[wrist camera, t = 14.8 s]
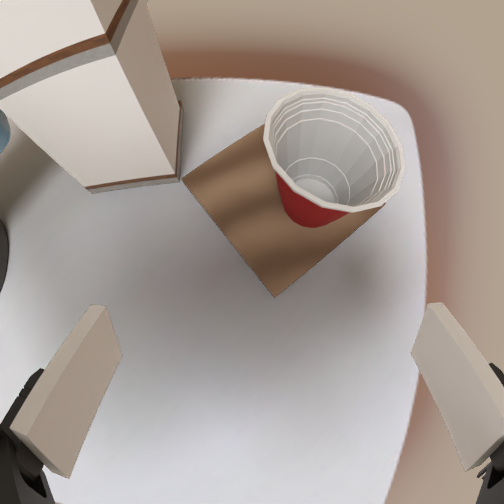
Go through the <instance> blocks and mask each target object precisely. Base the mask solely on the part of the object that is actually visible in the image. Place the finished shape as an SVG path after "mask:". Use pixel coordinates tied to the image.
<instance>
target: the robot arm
mask: <svg viewBox="0 0 504 504" xmlns="http://www.w3.org/2000/svg"><path fill="white" fill-rule="evenodd" d="M9 139H10V126H9V123H8V120H7V117H6V115H5V113H4V112H3V111H2V110H1V109H0V154H1V152H2V151H3V150H4V149H5V147H6V146H7V144H8V142H9ZM7 259H8V242H7V235H6V231H5V228H4V225H3V223H2V222H1V220H0V290H1V287H2V284H3V281H4V277H5V273H6V268H7ZM411 355H412V357H413V359H414V361H415V362H416V364H417V366H418V368H419V370H420V372H421V374H422V376H423V378H424V380H425V382H426V384H427V386H428V388H429V390H430V392H431V394H432V396H433V398H434V401H435V403H436V405H437V407H438V409H439V411H440V413H441V415H442V418H443V420H444V422H445V424H446V427H447V429H448V431H449V434H450V436H451V438H452V441H453V443H454V445H455V448H456V450H457V452H458V455H459V458H460V460H461V462H462V465H463V468H464V470H465V472H466V471H468V470H471V469H473V468H475V467H477V466H479V465H481V464H482V463H483V462H484V461H485V460H486V459H487V458H488V457H489V456H490V458H491V462H490V463H489V464H488V465H487V466H486V467H485V468H484V469H482V470H481V471H480V472H479V473H478V475H477V478H479V477H480V476H481V475H483V474H484V473H485V472H486V474H485V476H483V478H482V479H484V480H483V484H482V487H481V490H480V493H479V496H478V499H477V502H476V504H504V374H503V373H502V371H501V370H500V369H499V368H497V367H496V366H495V365H494V364H493V363H490V364H488V363H487V361H486V360H485V358H484V357H483V356H482V354H481V353H480V351H479V350H478V349H477V347H476V346H475V344H474V343H473V342H472V340H471V339H470V338H469V336H468V335H467V334H466V332H465V331H464V330H463V328H462V327H461V326H460V325H459V323H458V322H457V321H456V319H455V318H454V317H453V316H452V314H451V313H450V312H449V310H448V309H447V308H446V307H445V306H444V304H443V303H430V304H428V305H427V308H426V311H425V314H424V317H423V320H422V323H421V326H420V329H419V332H418V335H417V337H416V340H415V343H414V346H413V348H412V351H411ZM122 356H123V355H122V352H121V349H120V347H119V344H118V341H117V338H116V335H115V332H114V329H113V326H112V323H111V319H110V316H109V313H108V310H107V306H103V305H91V306H90V307H89V308H88V309H87V311H86V312H85V313H84V315H83V316H82V317H81V319H80V320H79V321H78V323H77V324H76V326H75V327H74V328H73V330H72V331H71V332H70V334H69V335H68V337H67V338H66V339H65V341H64V342H63V344H62V345H61V347H60V348H59V349H58V351H57V352H56V354H55V355H54V357H53V358H52V360H51V361H50V363H49V364H48V366H47V367H46V369H45V370H44V369H41V368H40V369H39V370H38V371H36V372H35V373H34V374H33V375H32V376H30V378H29V379H28V381H27V382H26V384H25V385H24V389H23V388H22V390H21V392H20V393H19V397H18V396H17V398H16V399H15V401H14V403H13V404H12V406H11V408H10V409H9V411H8V413H7V414H6V416H5V418H4V419H3V421H2V423H1V424H0V504H55V501H54V499H53V496H52V493H51V491H50V488H49V485H48V482H47V479H46V476H45V474H44V472H43V470H42V468H43V465H45V466H46V467H47V468H48V469H49V470H50V471H52V472H53V473H56V474H58V475H61V476H63V477H66V478H68V479H69V478H70V476H71V473H72V470H73V468H74V465H75V463H76V460H77V457H78V455H79V452H80V450H81V447H82V445H83V443H84V440H85V438H86V435H87V433H88V431H89V428H90V426H91V424H92V421H93V419H94V417H95V414H96V412H97V410H98V407H99V405H100V403H101V401H102V399H103V396H104V394H105V392H106V390H107V388H108V385H109V383H110V381H111V379H112V377H113V375H114V373H115V371H116V368H117V366H118V364H119V362H120V360H121V358H122Z"/></svg>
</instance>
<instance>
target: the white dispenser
mask: <svg viewBox="0 0 504 504" xmlns="http://www.w3.org/2000/svg"><path fill="white" fill-rule="evenodd" d="M147 1H148V0H0V109H1V110H2V111H3V112H4V113H5V114H6V115H7V116H8V117H9V118H10V119H11V120H12V121H13V122H14V123H15V124H16V125H17V126H18V127H19V128H20V129H21V130H22V131H23V132H24V133H25V134H26V135H27V136H28V137H30V138H31V139H32V140H33V141H34V142H35V143H36V144H37V145H38V146H39V147H40V148H41V149H42V150H43V151H45V152H46V153H47V154H48V155H49V156H50V157H51V158H52V159H53V160H54V161H56V162H57V163H58V164H59V165H60V166H61V167H62V168H63V169H64V170H66V171H67V172H68V173H69V174H70V175H71V176H72V177H74V178H75V179H76V180H77V181H78V182H79V183H80V184H82V185H83V186H84V187H85V188H86V189H87V190H88V191H90V192H91V193H92V194H93V193H99V192H105V191H112V190H119V189H126V188H133V187H141V186H149V185H157V184H166V183H175V182H179V179H180V157H181V139H182V124H183V111H184V110H183V107H182V104H181V101H177V98H176V95H175V92H174V89H173V86H172V82H171V79H170V76H169V73H168V71H167V67H166V64H165V61H164V58H163V55H162V52H161V49H160V46H159V43H158V39H157V36H156V33H155V30H154V27H153V24H152V20H151V18H150V14H149V11H148V8H147V5H146V4H147Z"/></svg>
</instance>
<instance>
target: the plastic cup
mask: <svg viewBox="0 0 504 504" xmlns="http://www.w3.org/2000/svg"><path fill="white" fill-rule="evenodd" d="M263 141H264V144H265V147H266V149H267V152H268V155H269V158H270V161H271V164H272V166H273V169H274V170H275V173H276V179H277V184H278V190H279V193H280V196H281V200H282V204H283V207H284V210H285V212H286V213H287V215H288V216H289V217H290V218H291V219H292V221H293V222H295V223H297V224H299V225H301V226H303V227H309V228H317V227H321V226H325V225H327V224H329V223H330V222H332V221H336V220H337V219H339V218H341V217H343V216H345V215H346V214H348V213H353V212H358V211H362V210H366V209H371V208H375V207H380V206H382V205H383V204H384V203H385V202H386V201H387V200H388V199H390V198H391V197H392V196H393V195H394V194H395V193H396V192H397V191H398V190H399V187H400V184H401V181H402V178H403V175H404V172H405V164H404V156H403V149H402V145H401V143H400V141H399V139H398V138H397V136H396V134H395V132H394V130H393V128H392V126H391V125H390V123H389V122H388V121H387V120H386V119H385V118H384V117H383V116H382V115H381V114H380V113H379V112H378V111H377V110H376V109H375V108H374V107H373V106H371V105H369V104H368V103H366V102H364V101H363V100H361V99H359V98H357V97H355V96H354V95H352V94H350V93H347V92H343V91H339V90H335V89H330V88H326V87H318V88H303V89H299V90H296V91H294V92H292V93H290V94H288V95H286V96H284V97H282V98H280V99H279V100H278V101H277V103H276V104H275V105H274V106H273V108H272V109H271V110H270V112H269V113H268V114H267V115H266V121H265V129H264V136H263Z"/></svg>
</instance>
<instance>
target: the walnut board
mask: <svg viewBox="0 0 504 504" xmlns="http://www.w3.org/2000/svg"><path fill="white" fill-rule="evenodd" d="M264 129H265V124H264V125H262V126H260V127H259V128H257V129H255V130H254V131H252V132H251V133H249V134H247V135H246V136H244V137H243V138H241V139H239V140H238V141H236V142H235V143H233V144H232V145H230V146H229V147H227V148H225V149H224V150H222V151H221V152H219V153H218V154H216V155H215V156H213V157H212V158H210V159H209V160H208V161H206V162H205V163H203V164H202V165H200V166H199V167H197V168H196V169H194V170H193V171H192V172H190V173H189V174H187V175H186V176H185V177H183V178H182V181H183V183H184V184H185V185H186V186H187V188H188V189H189V190H190V192H191V193H192V194H193V195H194V197H195V198H196V199H197V201H198V202H199V203H200V204H201V206H202V207H203V208H204V209H205V211H206V212H207V213H208V215H209V216H210V217H211V218H212V220H213V221H214V222H215V223H216V225H217V226H218V227H219V228H220V230H221V231H222V232H223V234H224V235H225V236H226V237H227V239H228V240H229V241H230V242H231V244H232V245H233V246H234V247H235V249H236V250H237V251H238V252H239V254H240V255H241V256H242V258H243V259H244V260H245V261H246V263H247V264H248V265H249V266H250V268H251V269H252V270H253V271H254V273H255V274H256V275H257V276H258V278H259V279H260V280H261V281H262V283H263V284H264V285H265V286H266V288H267V289H268V290H269V291H270V293H271V294H272V295H273V296H274V298H275V297H276V296H277V295H278V294H280V293H281V292H282V291H283V290H285V289H286V288H287V287H288V286H290V285H291V284H292V283H293V282H295V281H296V280H297V279H298V278H300V277H301V276H302V275H303V274H304V273H306V272H307V271H308V270H309V269H310V268H312V267H313V266H314V265H315V264H317V263H318V262H319V261H320V260H321V259H323V258H324V257H325V256H326V255H327V254H329V253H330V252H331V251H332V250H333V249H334V248H336V247H337V246H338V245H339V244H340V243H342V242H343V241H344V240H345V239H346V238H347V237H349V236H350V235H351V234H352V233H353V232H354V231H356V230H357V229H358V228H359V227H360V226H361V225H362V224H364V223H365V222H366V221H367V220H368V219H369V218H370V217H372V216H373V215H374V214H375V213H376V212H377V211H378V210H379V209H381V208H382V207H383V206H384V205H385V204H386V203H384V204H383V205H382V206H380V207H375V208H371V209H366V210H362V211H358V212H353V213H348V214H346V215H345V216H343V217H341V218H339V219H337V220H336V221H332V222H330V223H329V224H327V225H325V226H321V227H317V228H309V227H303V226H301V225H299V224H297V223H295V222H293V221H292V219H291V218H290V217H289V216H288V215H287V213H286V212H285V210H284V207H283V204H282V200H281V196H280V193H279V190H278V184H277V179H276V173H275V170H274V169H273V166H272V164H271V161H270V158H269V155H268V152H267V149H266V147H265V144H264V141H263V136H264Z"/></svg>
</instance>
